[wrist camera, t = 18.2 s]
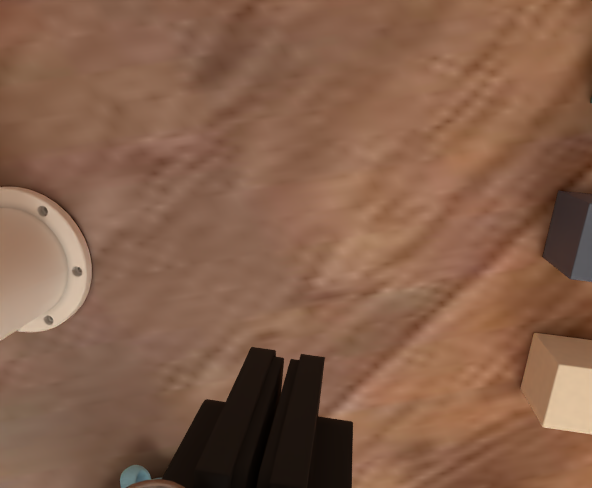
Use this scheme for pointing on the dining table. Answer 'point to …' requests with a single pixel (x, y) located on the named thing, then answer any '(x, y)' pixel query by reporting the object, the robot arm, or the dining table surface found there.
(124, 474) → the decorative pot
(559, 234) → the slate block
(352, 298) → the dining table surface
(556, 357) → the cream block
